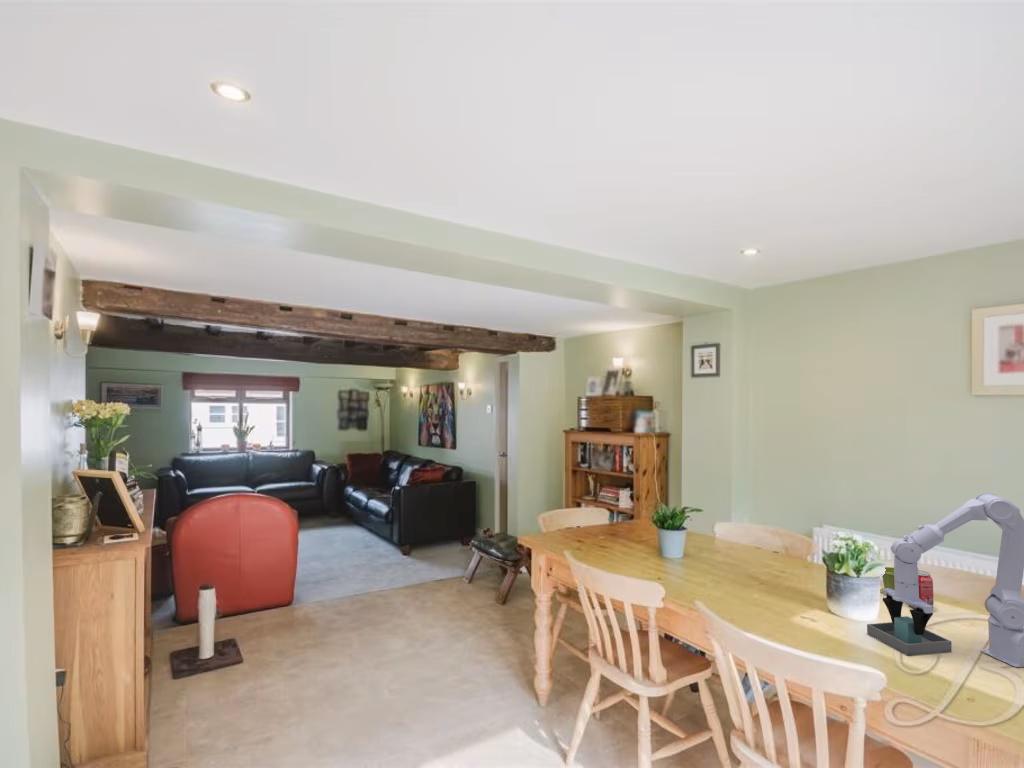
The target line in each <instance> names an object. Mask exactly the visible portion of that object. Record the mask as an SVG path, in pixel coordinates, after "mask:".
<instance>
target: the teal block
mask: <svg viewBox="0 0 1024 768" xmlns="http://www.w3.org/2000/svg"><path fill="white" fill-rule="evenodd" d="M894 629H895V638H897V639H899V640H901V641H903V642H905V643H907V644H914V643H922V635H916V634H915V631H914V622H913V618H912V617H911V616H907V615H905V616H901V617H894Z"/></svg>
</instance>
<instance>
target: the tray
mask: <svg viewBox="0 0 1024 768" xmlns="http://www.w3.org/2000/svg"><path fill="white" fill-rule="evenodd" d="M866 632H867V635H868V636H870V637H872V638H873V637H874V638H873V639H875V638H876V640H877V639H878V641H879V642H882V644H885V645H886V646H888V647H891V648H892V649H894V650H896V651H897V652H900V653H901V654H904V655H905V656H908V657H910V656H911V657H912V656H923V655H933V654H943V653H944V654H945V653H946V654H948V653H952V640H950V639H947V638H946V637H944V636H941V635H939V634H937V633H935V632H932V631H930V630H928V629H926V628H925V630H924V634H923V635H922V643H914V644H907V643H905V642H903V641H901V640H899V639H897V638H895V629H894V624H893V623H892V621H888V622H877V623H866Z"/></svg>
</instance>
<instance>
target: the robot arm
mask: <svg viewBox="0 0 1024 768" xmlns="http://www.w3.org/2000/svg"><path fill="white" fill-rule="evenodd" d="M989 519H990V520H991V521H992V522H993V523H994V524H996V525H997V526H998V527H999V528H1000V529H1001V530H1002V534H1001V539H1000V547H999V554H998V561H997V562H998V563H997V570H996V576H995V584H994V586H993V587H991V588H990V591H989V592H990V593H989V595H988V596H987V597H986V599H985V600H984V608H985V610H986V611H987V612H988V613H989V617H988V618H987V621H988V623H987V624H988V648H981V649H980V652H981V653H984V654H986V655H988V656H991V657H993V658H995V659H997V660H999V661H1001V662H1003V663H1006V664H1007V665H1011V666H1012V667H1014V668H1022V667H1023V668H1024V598H1023V596H1022V594H1021V593H1022V586H1023V579H1024V578H1023V577H1024V517H1023V516H1022V514H1021V509H1020V508H1019V507H1018V506H1017V505H1015V504H1014V503H1013V502H1012V501H1010V500H1008V499H1006V498H1003V497H1000V496H997V495H996V494H993V493H989V492H985V493H980V494H978V495H977V496H976V497H973V498H970V499H969V500H967V501H966V502H965V503H964V504H963V505H961V506H960V507H958V508H956V509H955V510H954V511H952V512H951V513H949V514H948V515H946V516H945V517H944V518H942V519H941V520H939V521H937V523H935V524H928V523H925V524H924V525H923V524H919V525H918V526H917V528H918V529H916V530H914V531H912V533H911V532H910V534H905V535H903V536H902V537H903V538H898V539H896V540H894V541H893V543H892V545H891V546H890V550H891V552H892V554H893V555H894V556H893V557H894V558H893V559H894V560H893V561H894V563H893V568H894V586H895V590H892V589H889V588H886V589H884V588H883V590H882V591H883V593H882V594H883V596H885V597H883V598H882V601H883V603H884V605H885V606H886V609H887V611H888V613H889V616H890V619H891V622H892V623H893V624H894V617H902V608H903V605H904V604H906V605H908V606H910V607H911V606H913V607H915V608H916V609H914V608H912V609H909V613H910V614H911V618H912V619H913V622H914V631H915V634H916V635H923V634H924V630H925V629H926V627H927V624H928V622H929V621H930V619H931V618H932V616H933V614H934V613H933V609H932V606H931V605H929V604H927V603H925V602H924V601H922V600H921V599H919V587H918V586H919V585H918V570H919V567H918V562H920V561H919V560H921V557H922V554H925V553H926V552H928V551H930V550H931V549H933V548H935V547H936V546H938V545H939V544H941V543H943V542H944V540H945V535H946V534H949V533H951V532H953V531H954V530H956V529H958V528H960V527H962V526H963V525H965V524H967V523H969V522H971V521H989Z"/></svg>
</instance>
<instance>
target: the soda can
mask: <svg viewBox="0 0 1024 768" xmlns="http://www.w3.org/2000/svg"><path fill="white" fill-rule="evenodd" d="M933 581H934V580H933V577H931V573H930V572H928V571H924V570H919V569H918V585H919V586H918V587H919V599H921V600H922V601H924V602H925V603H927V604H929V605H931V606H932V610H933V609H934V582H933ZM910 607H911V608H912V609H916V608H915V607H913V606H910Z"/></svg>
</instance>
